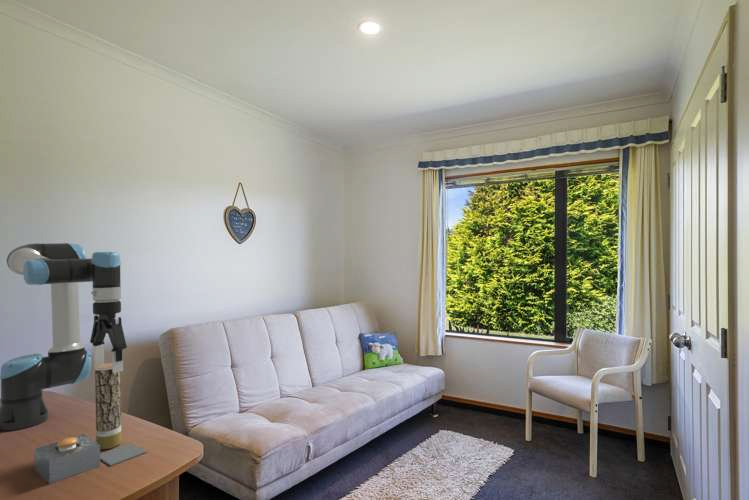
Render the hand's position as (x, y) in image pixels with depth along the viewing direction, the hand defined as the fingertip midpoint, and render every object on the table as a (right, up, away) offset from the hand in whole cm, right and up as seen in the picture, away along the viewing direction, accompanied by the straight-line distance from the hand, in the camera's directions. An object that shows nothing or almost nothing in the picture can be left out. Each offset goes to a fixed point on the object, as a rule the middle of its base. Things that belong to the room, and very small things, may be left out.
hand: (108, 368), depth 135 cm
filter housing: (-3, -24, -14) cm, 28 cm away
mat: (+8, -24, -6) cm, 26 cm away
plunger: (-3, -23, -14) cm, 27 cm away
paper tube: (0, -24, 0) cm, 24 cm away
